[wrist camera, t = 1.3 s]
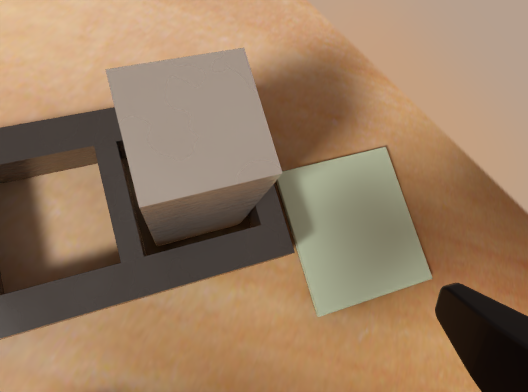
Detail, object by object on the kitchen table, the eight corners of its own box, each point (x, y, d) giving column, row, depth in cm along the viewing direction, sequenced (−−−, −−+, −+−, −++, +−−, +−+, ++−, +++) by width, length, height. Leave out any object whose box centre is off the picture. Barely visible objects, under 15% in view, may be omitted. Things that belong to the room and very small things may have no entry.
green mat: (428, 278, 24) (432, 278, 24) (317, 316, 22) (319, 316, 22) (382, 149, 25) (385, 146, 25) (274, 175, 24) (275, 173, 23)
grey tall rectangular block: (238, 224, 23) (282, 173, 13) (156, 246, 22) (139, 207, 12) (217, 149, 23) (244, 47, 14) (136, 166, 22) (105, 69, 13)
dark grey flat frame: (282, 256, 23) (294, 252, 20) (-17, 344, 19) (-46, 351, 17) (237, 105, 24) (243, 84, 22) (-49, 159, 21) (-79, 142, 18)
